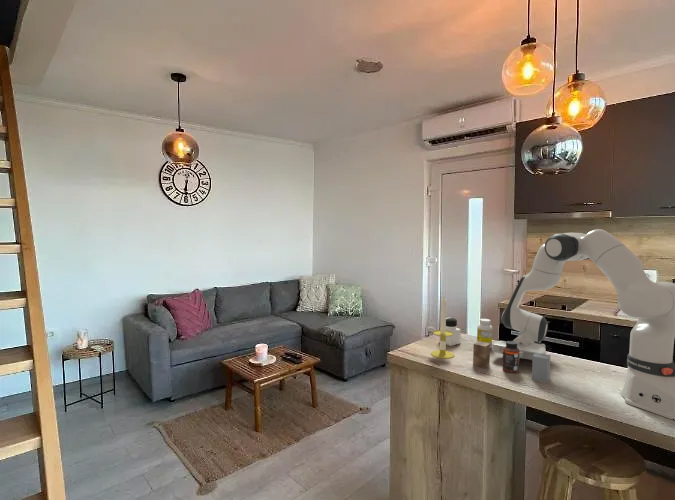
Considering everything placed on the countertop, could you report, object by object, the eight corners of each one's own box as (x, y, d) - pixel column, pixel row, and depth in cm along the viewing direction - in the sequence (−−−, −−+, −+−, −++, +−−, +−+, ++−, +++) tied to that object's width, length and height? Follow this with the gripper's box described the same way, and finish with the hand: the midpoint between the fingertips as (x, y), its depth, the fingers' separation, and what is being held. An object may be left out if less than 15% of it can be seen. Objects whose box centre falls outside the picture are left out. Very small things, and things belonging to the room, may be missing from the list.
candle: (458, 355, 170) (460, 294, 168) (446, 360, 164) (447, 297, 162) (439, 349, 178) (440, 291, 176) (426, 354, 171) (427, 294, 169)
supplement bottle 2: (520, 373, 149) (521, 345, 149) (504, 372, 151) (505, 344, 150) (516, 368, 155) (517, 340, 154) (501, 367, 156) (501, 339, 156)
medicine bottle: (460, 343, 186) (461, 319, 185) (450, 346, 182) (451, 321, 182) (449, 339, 192) (449, 316, 191) (439, 342, 188) (439, 318, 188)
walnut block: (489, 364, 159) (490, 343, 158) (485, 368, 155) (486, 346, 154) (477, 362, 162) (477, 341, 161) (472, 365, 158) (473, 343, 158)
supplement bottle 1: (477, 343, 186) (478, 317, 185) (492, 345, 183) (493, 318, 182) (476, 347, 180) (476, 320, 179) (491, 349, 177) (492, 322, 176)
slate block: (549, 378, 145) (550, 355, 144) (546, 383, 141) (547, 359, 140) (534, 375, 148) (535, 352, 147) (531, 379, 144) (532, 355, 144)
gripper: (497, 335, 172) (487, 343, 161) (549, 344, 159) (541, 353, 148) (497, 349, 172) (486, 357, 162) (548, 359, 159) (540, 369, 149)
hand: (513, 356), depth 155 cm, fingers closed
